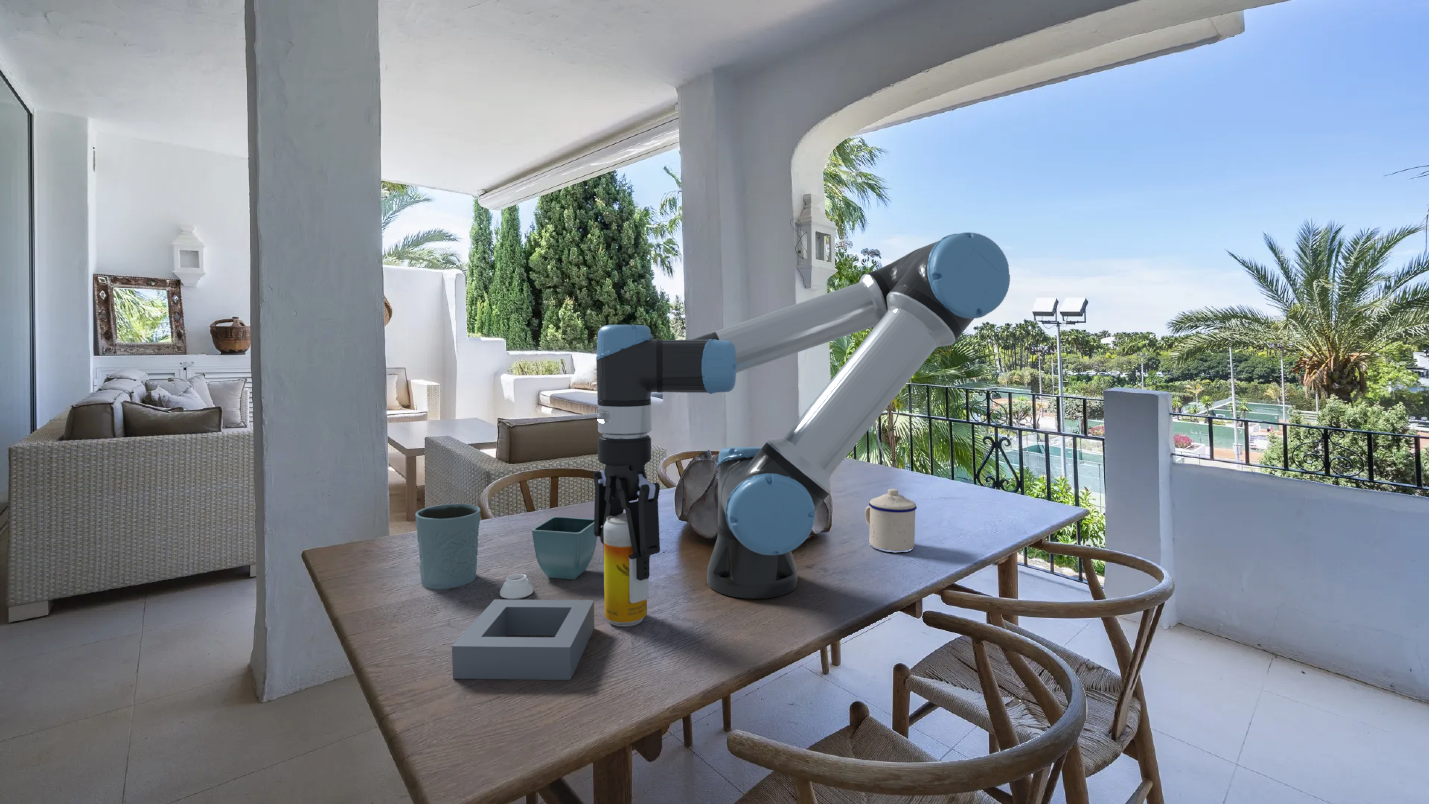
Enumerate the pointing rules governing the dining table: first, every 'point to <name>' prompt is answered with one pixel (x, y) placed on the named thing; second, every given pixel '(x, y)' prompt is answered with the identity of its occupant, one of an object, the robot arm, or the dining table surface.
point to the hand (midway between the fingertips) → (625, 593)
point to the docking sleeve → (525, 640)
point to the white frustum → (516, 587)
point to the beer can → (619, 574)
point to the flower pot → (564, 546)
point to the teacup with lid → (891, 521)
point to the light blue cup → (448, 544)
